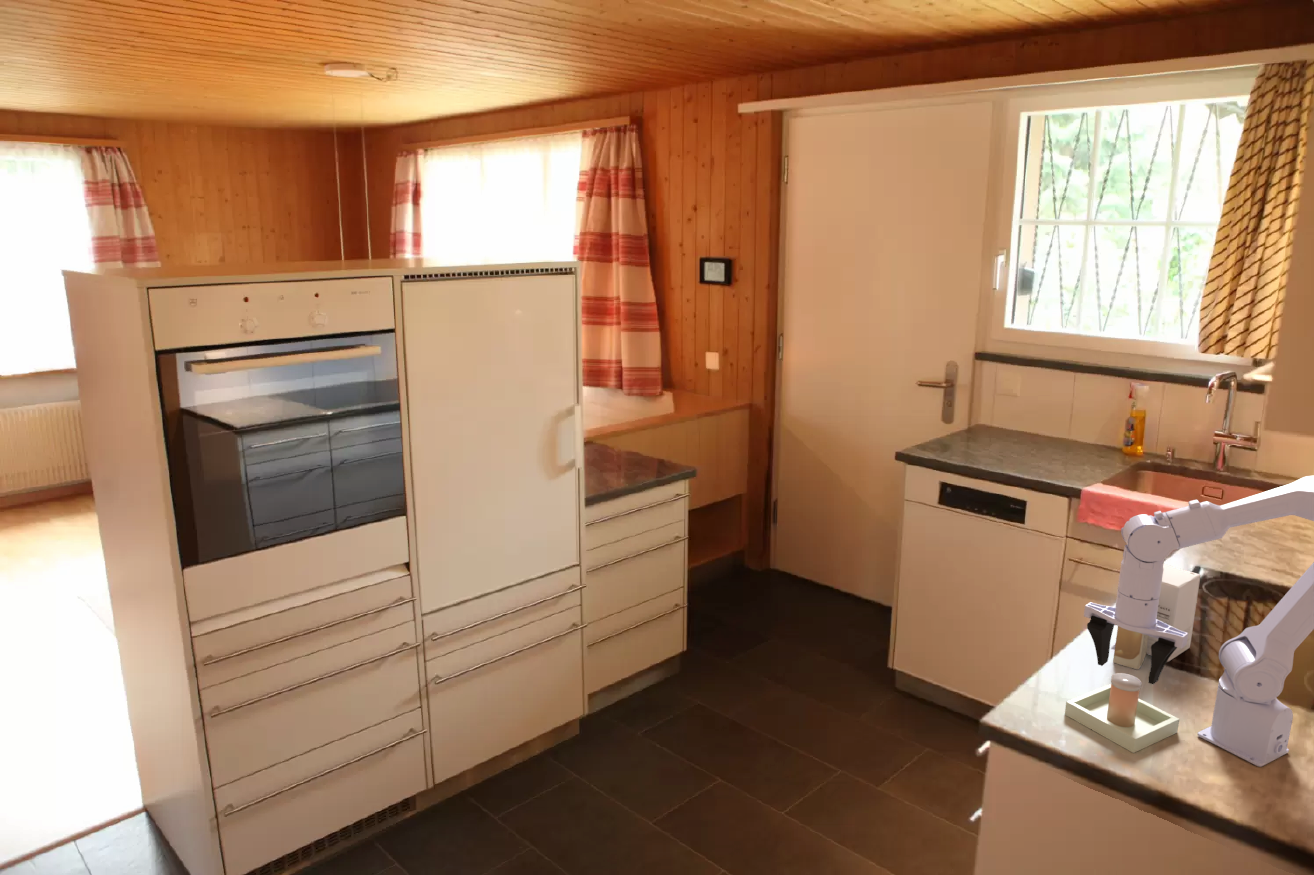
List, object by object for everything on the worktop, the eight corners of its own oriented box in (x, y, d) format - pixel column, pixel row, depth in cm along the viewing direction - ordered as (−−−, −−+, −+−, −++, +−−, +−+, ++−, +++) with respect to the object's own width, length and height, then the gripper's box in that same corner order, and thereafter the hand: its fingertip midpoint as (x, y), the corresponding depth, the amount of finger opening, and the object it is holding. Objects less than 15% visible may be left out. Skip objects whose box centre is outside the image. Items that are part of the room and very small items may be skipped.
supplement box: (1142, 630, 173) (1152, 558, 169) (1190, 648, 166) (1202, 573, 162) (1118, 644, 168) (1128, 570, 164) (1167, 663, 161) (1179, 586, 157)
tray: (1177, 732, 140) (1179, 718, 139) (1133, 752, 135) (1135, 739, 134) (1107, 696, 150) (1109, 683, 150) (1064, 714, 145) (1066, 701, 144)
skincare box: (1120, 649, 166) (1128, 589, 163) (1146, 657, 163) (1155, 595, 160) (1111, 663, 161) (1120, 601, 158) (1138, 671, 158) (1147, 608, 155)
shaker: (1139, 720, 142) (1145, 680, 140) (1128, 730, 139) (1134, 689, 138) (1112, 709, 145) (1118, 670, 143) (1101, 719, 143) (1106, 679, 141)
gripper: (1200, 600, 134) (1187, 680, 137) (1101, 571, 145) (1091, 647, 148) (1182, 614, 129) (1169, 697, 133) (1082, 583, 140) (1072, 661, 144)
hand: (1127, 672), depth 140 cm, fingers open, 7 cm apart
